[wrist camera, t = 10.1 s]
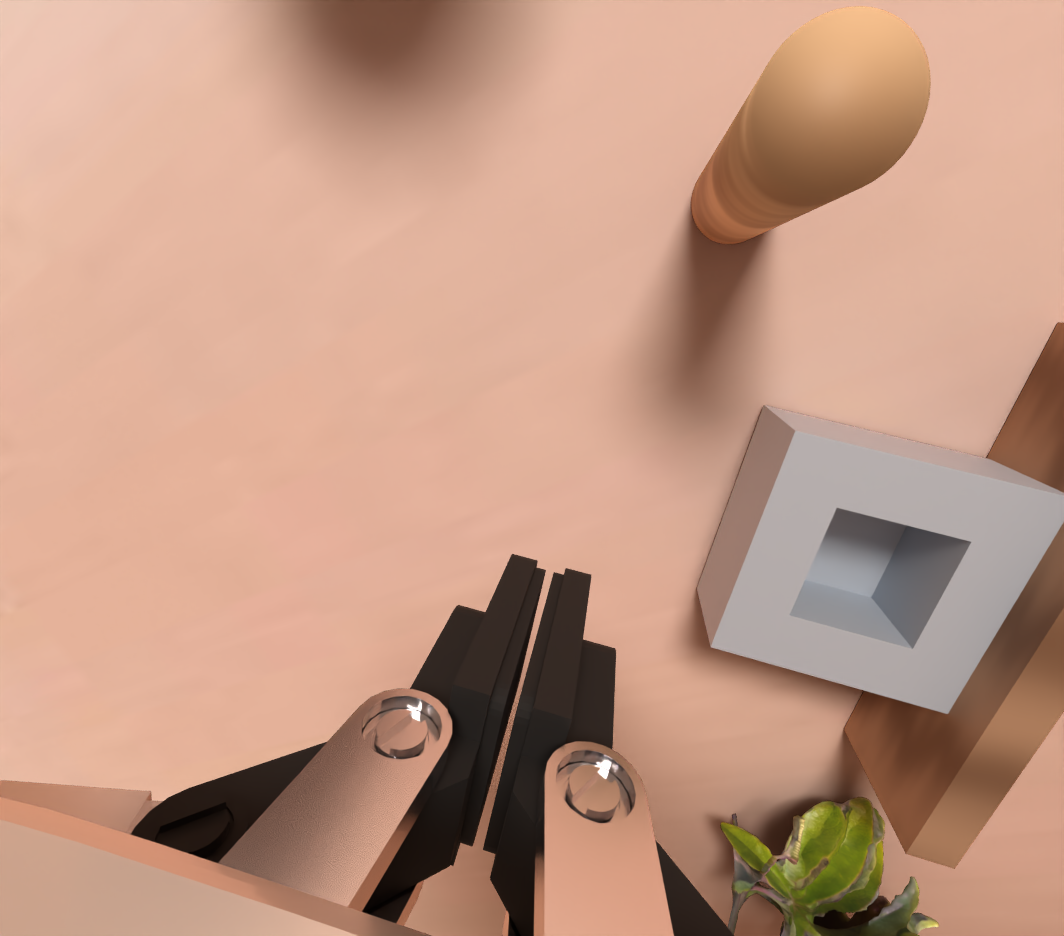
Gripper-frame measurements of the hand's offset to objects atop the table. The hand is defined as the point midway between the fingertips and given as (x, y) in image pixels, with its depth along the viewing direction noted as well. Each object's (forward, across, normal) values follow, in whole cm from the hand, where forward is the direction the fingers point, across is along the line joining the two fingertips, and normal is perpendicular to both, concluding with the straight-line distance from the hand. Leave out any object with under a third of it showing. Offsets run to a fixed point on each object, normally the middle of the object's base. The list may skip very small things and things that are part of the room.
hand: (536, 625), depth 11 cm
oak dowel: (+17, -4, -11) cm, 20 cm away
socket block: (+17, -12, +2) cm, 21 cm away
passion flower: (+17, -17, +22) cm, 33 cm away
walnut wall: (+17, -18, +2) cm, 25 cm away
